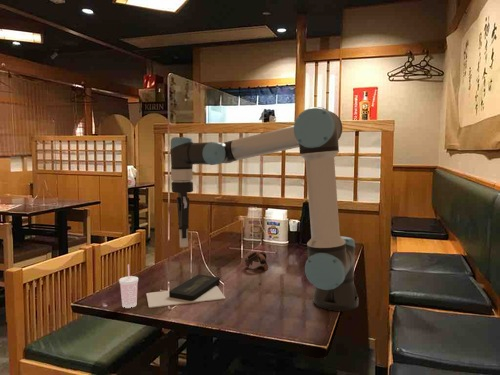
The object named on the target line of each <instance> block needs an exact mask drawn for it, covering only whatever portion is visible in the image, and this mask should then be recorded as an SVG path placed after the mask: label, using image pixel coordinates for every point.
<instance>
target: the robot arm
mask: <svg viewBox="0 0 500 375" xmlns="http://www.w3.org/2000/svg"><path fill="white" fill-rule="evenodd" d="M293 124H294V125H291V126H287V127H283V128H279V129H274V130H270V131H267V132H266V131H265V132H262V133H257V134H253V135H249V136H246V137H241V138H236V139H234V140H228V141H224V142H216V141H208V142H193V139H192V137H189V136H181V137H180V136H177V137H176V136H175V137H171V139H170V149H169V151H170V164H171V165H170V167H171V168H170V179H171V192H172V193H174V194H177V196H176V198H175V200H176V203H177V204H176V206H177V221H178V223H177V224H178V228H177V229H178V230H179V248H188V247H189V235H188V233H189V231H188V229H189V228H190V227H189V220H190V219H189V218H190V217H189V215H190V212H189V211H190V198H189V197H188V193H193V192H194V182H193V179H194V176H193V175H194V174H195V171H193V169H194V167H193V165H210V166H213V165H214V166H215V165H221V164H231V163H233V162H235V161H240V160H247V159H251V158H254V157H260V156H264V155H269V154H273V153H278V152H283V151H284V152H285V151H288V150H292V149H297V148H298V149H299V156H300V157H302V158H303V159H304V162H305V170H306V172H305V173H306V183H307V198H308V209H309V210H308V211H309V221H310V222H309V223H310V237H311V238H310V239H309V240H308V241H307V243H306V245H307V246H306V247H307V248H306V249H307V260H306V261H305V265H304V274H305V276H306V278H307V280H308V281H309V283H310V284H312V285H313V287H315V289H314V292H313V296H312V297H313V298H312V299H313V300H312V302H313V304H314V303H315V304H316V305H315V304H314V305H315V306H316V307H318V306H319V308H320V307H321V308H320V309H323V308H324V309H323V310H326V309H328V310H327V311H331V310H335V311H334V312H348V311H353V310H356V309H357V308H359V295H358V292H357V289H356V286H355V282H354V280H355V251H356V241H355V239H354V238H352V237H348V236H341V232H340V220H339V219H340V218H339V206H338V191H337V178H336V177H337V176H336V166H335V165H336V163H335V157H336V156H337V154H338V153H339V152H340V150H339V149H340V148H339V140H340V138H341V136H342V133H343V124H342V121H341V119H340V117H339V116H338V115H337V114H336V113H334V112H332V111H330V110H328V109H327V108H324V107H319V106H318V107H315V106H314V107H309V108H307V109H305V110H303V111H301V112H300V113H299V114H298V115H297V117H296V118H295V120H294V123H293Z"/></svg>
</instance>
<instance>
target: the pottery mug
mask: <svg viewBox="0 0 500 375" xmlns="http://www.w3.org/2000/svg"><path fill="white" fill-rule="evenodd" d="M267 258H268V257H267V254H266V253H265V252H264V251H262V252H259V251H254V252H252V253H251V254H249V255H247V257H246V258H244V262H245V264H244V265H245V266H246V267H247V268H249V267H250V266H253V264H254V262H255V263H259V264H260V265H263V266H262V267H263V269H264V271H265V272H266V271H267V270H268V269H269V266H268V263H267Z"/></svg>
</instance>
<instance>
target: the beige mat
mask: <svg viewBox="0 0 500 375" xmlns="http://www.w3.org/2000/svg"><path fill="white" fill-rule="evenodd" d="M169 291H170V290H164V291H163V290H161V291H154V292H147V293H145V294H146V295H145V296H146V300H147V305H148V308H149V309H153V308H162V307H170V306H178V305H187V304H194V303H203V302H204V303H205V302H211V301H212V302H213V301H221V300H222V301H223V300H226V297H225V294H224V293H223V292H222V291H221V289H220V288H219V286H218V285H216V286H215V287H213V288H212V289H210V290H209V291H207V292H206V293H204V294H203V295H201V296H200V297H199V298H197V299H196V300H194V301H187V300H182V299H176V298H171V297H169Z"/></svg>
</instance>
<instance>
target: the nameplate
mask: <svg viewBox="0 0 500 375" xmlns="http://www.w3.org/2000/svg"><path fill="white" fill-rule="evenodd" d="M220 278H221V277H219V276H212V275H206V274H205V275H204V274H197V275H195V276H193V277H191V278H190V279H187V280H186V281H184V282H182V283H180V284H179V285H177V286H176V287H174V288H172V289H171V290H168V291H169V297H171V298H176V299H182V300H187V301H194V300H196V299H197V298H199V297H200V296H201V295H203V294H204V293H206V292H207V291H209V290H210V289H212V288H213V287H215V286H218V285H219V284H220V282H221V279H220Z"/></svg>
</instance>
